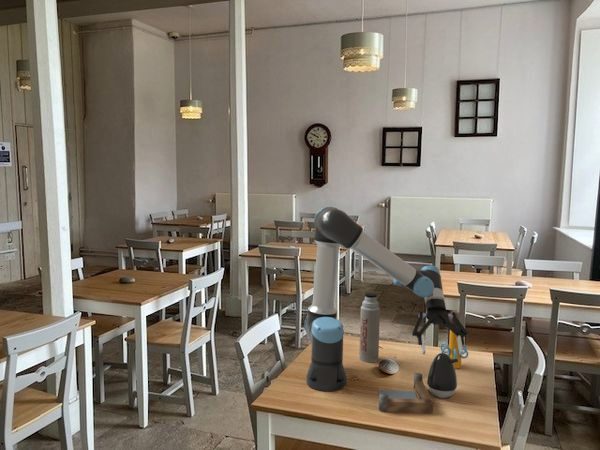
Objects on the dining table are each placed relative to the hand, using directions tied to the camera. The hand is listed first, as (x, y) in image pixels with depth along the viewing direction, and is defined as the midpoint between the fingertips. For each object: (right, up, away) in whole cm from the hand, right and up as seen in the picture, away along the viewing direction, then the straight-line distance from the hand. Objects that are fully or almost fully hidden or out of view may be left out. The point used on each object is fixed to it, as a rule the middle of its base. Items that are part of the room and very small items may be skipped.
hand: (442, 353), depth 183 cm
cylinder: (+10, -11, +21) cm, 26 cm away
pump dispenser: (-2, -14, -5) cm, 15 cm away
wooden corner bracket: (-17, -13, -8) cm, 23 cm away
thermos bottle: (-23, -10, +28) cm, 37 cm away
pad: (-18, -14, -9) cm, 25 cm away
